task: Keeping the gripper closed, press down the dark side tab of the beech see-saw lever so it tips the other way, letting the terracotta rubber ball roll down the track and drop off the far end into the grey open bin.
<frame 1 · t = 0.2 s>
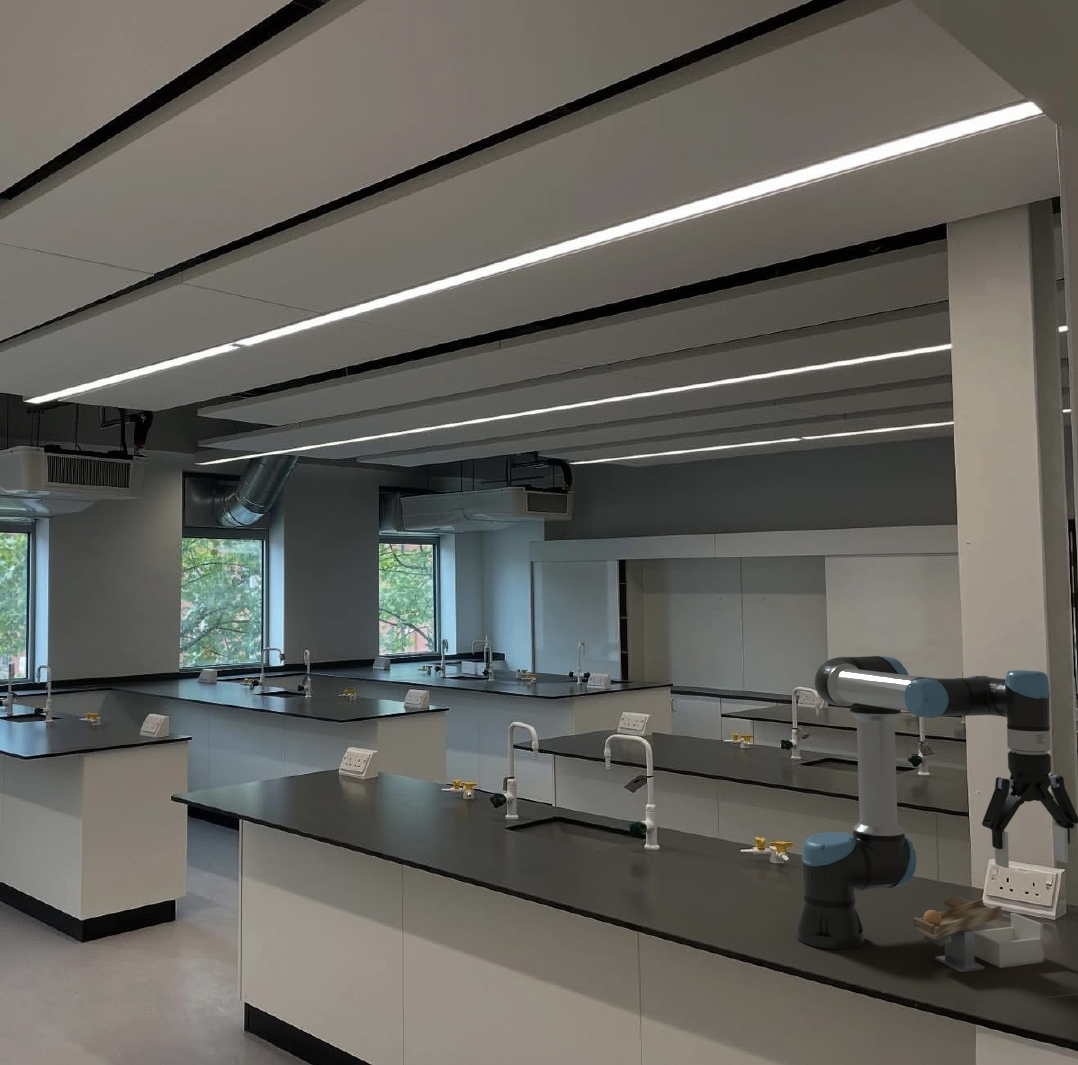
hand: (1031, 863, 196), 28 cm above the counter, fingers open, 13 cm apart
grey open bin: (1007, 958, 223), on the counter
ball: (932, 918, 218), point 10 cm above the counter, tilted 16°, touching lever
fulcrum: (959, 964, 219), on the counter
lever: (947, 917, 223), point 9 cm above the counter, hinge at -10.0°, touching ball
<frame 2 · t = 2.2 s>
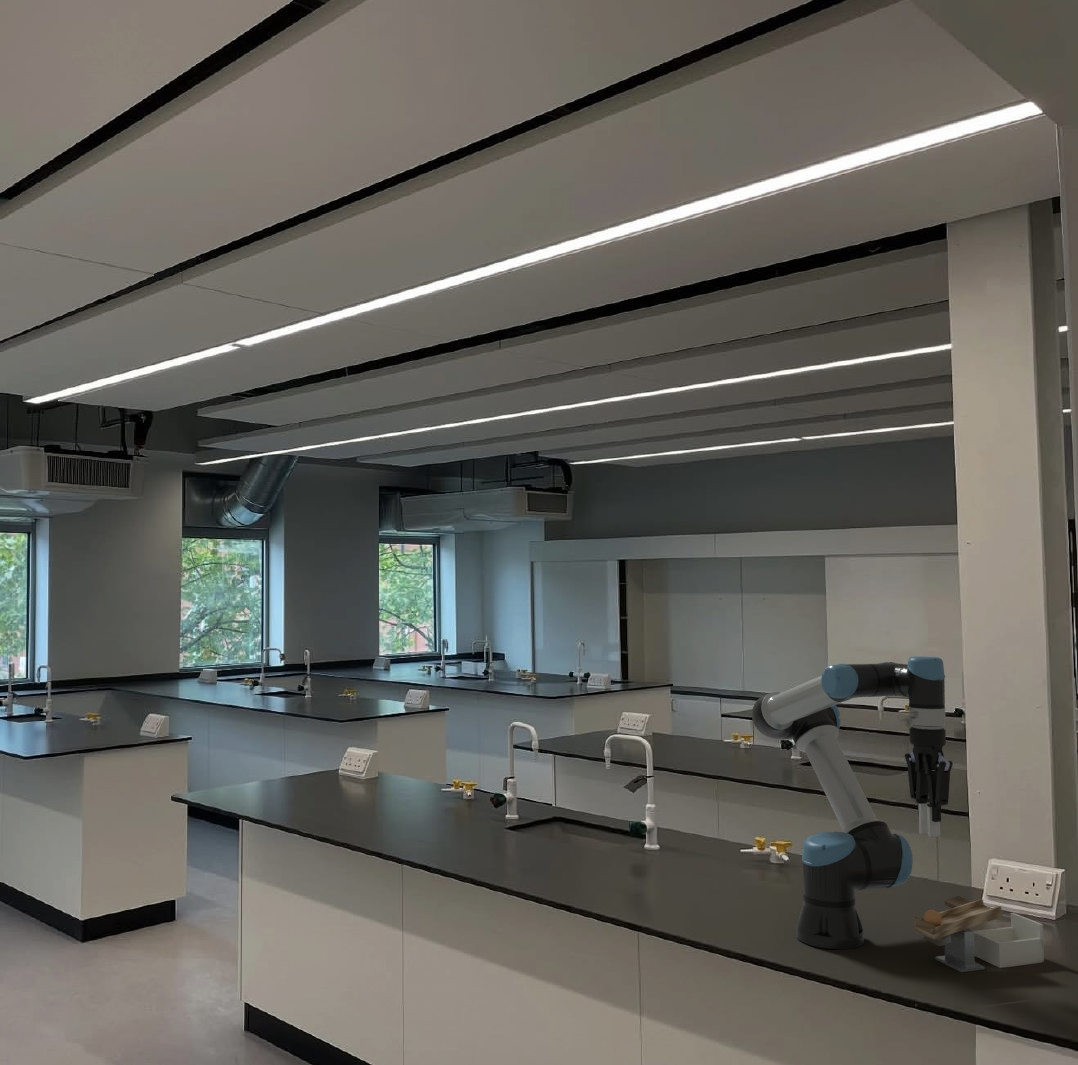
hand: (929, 834, 225), 26 cm above the counter, fingers open, 2 cm apart
nothing on the counter moved.
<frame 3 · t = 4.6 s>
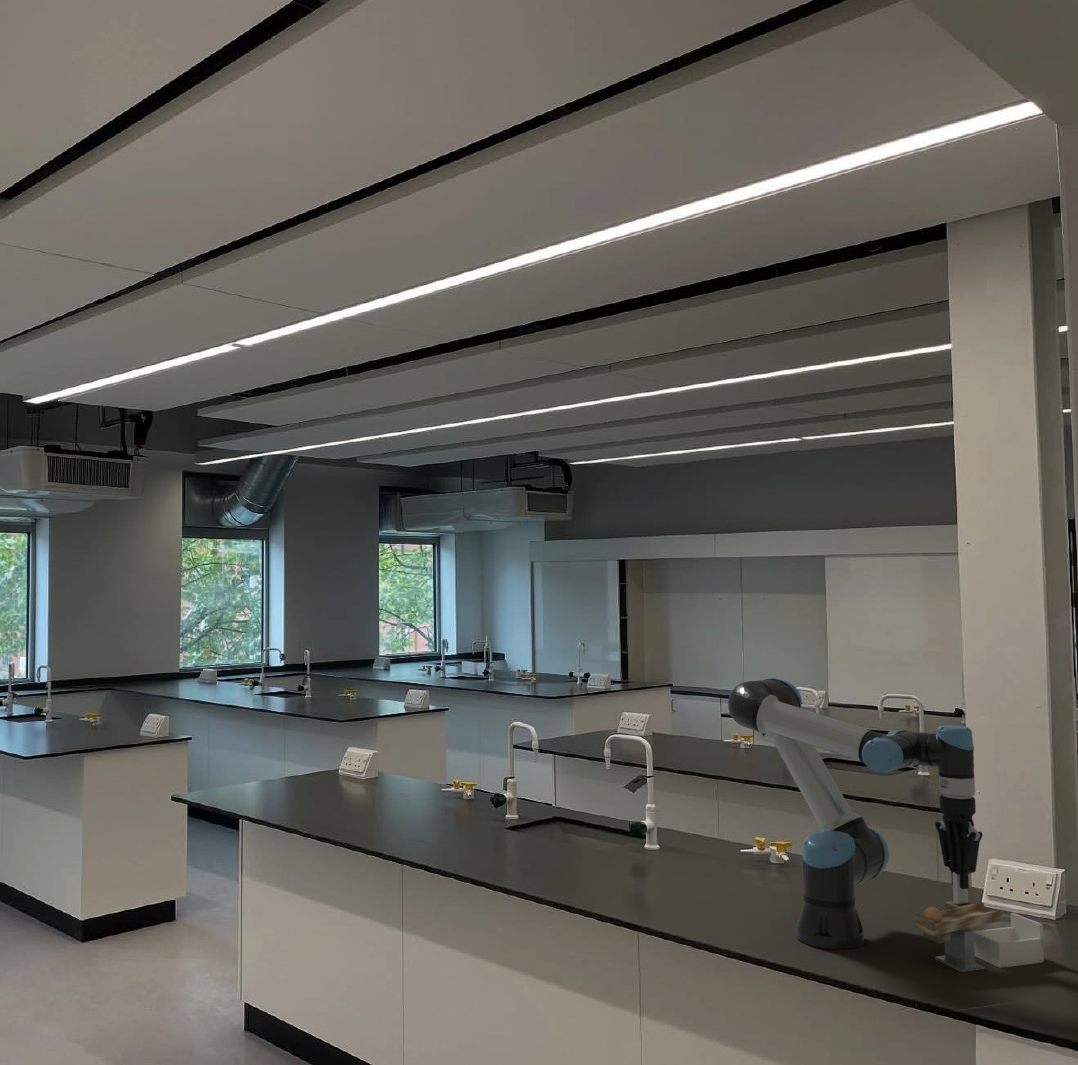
hand: (960, 902, 229), 10 cm above the counter, fingers closed
ball: (932, 916, 218), point 11 cm above the counter, tilted 11°, touching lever
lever: (947, 917, 223), point 9 cm above the counter, hinge at -5.0°, touching ball, gripper
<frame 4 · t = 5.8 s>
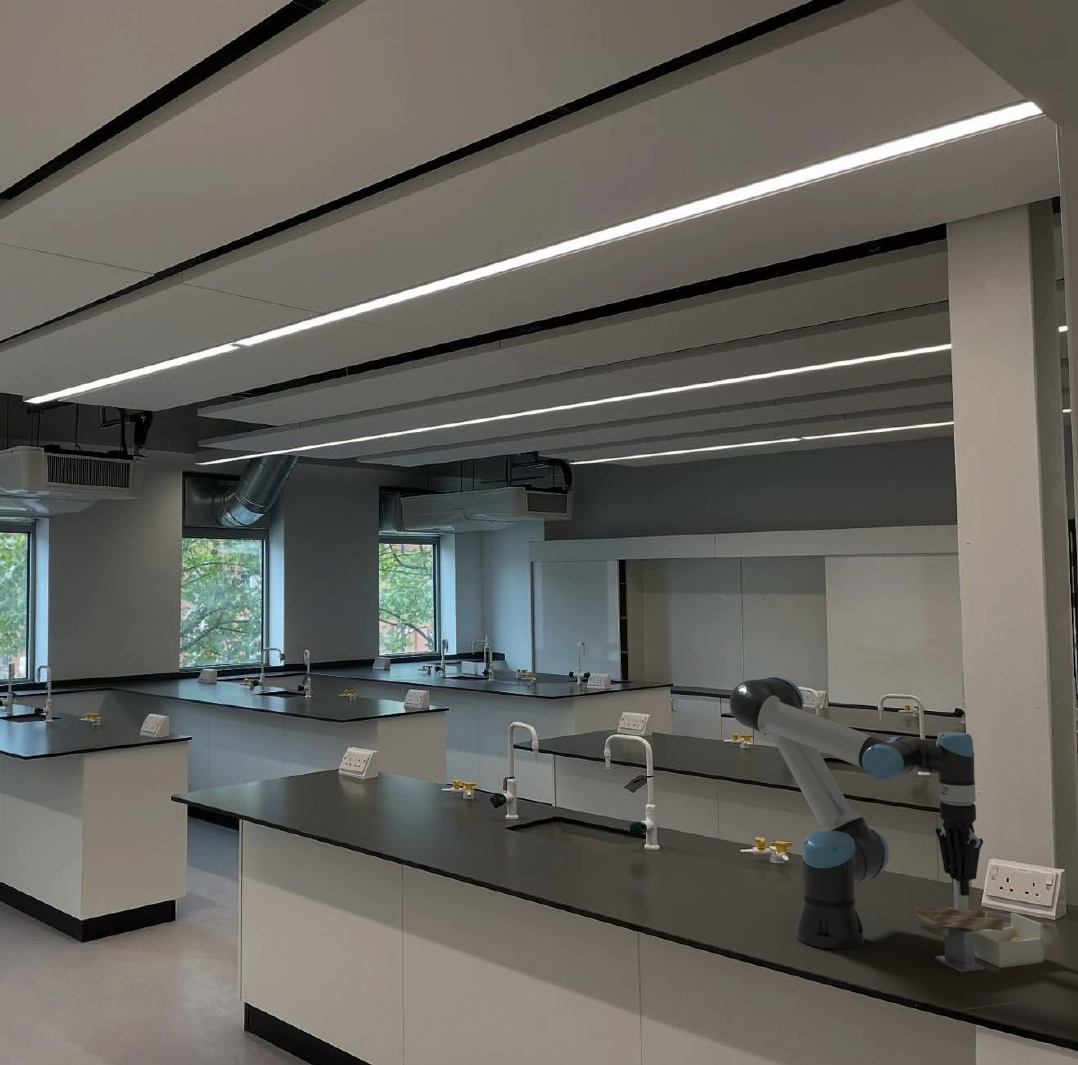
hand: (961, 908, 229), 9 cm above the counter, fingers closed
ball: (1018, 945, 224), point 2 cm above the counter, tilted 53°, touching grey open bin
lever: (947, 917, 223), point 9 cm above the counter, hinge at 8.2°, touching gripper
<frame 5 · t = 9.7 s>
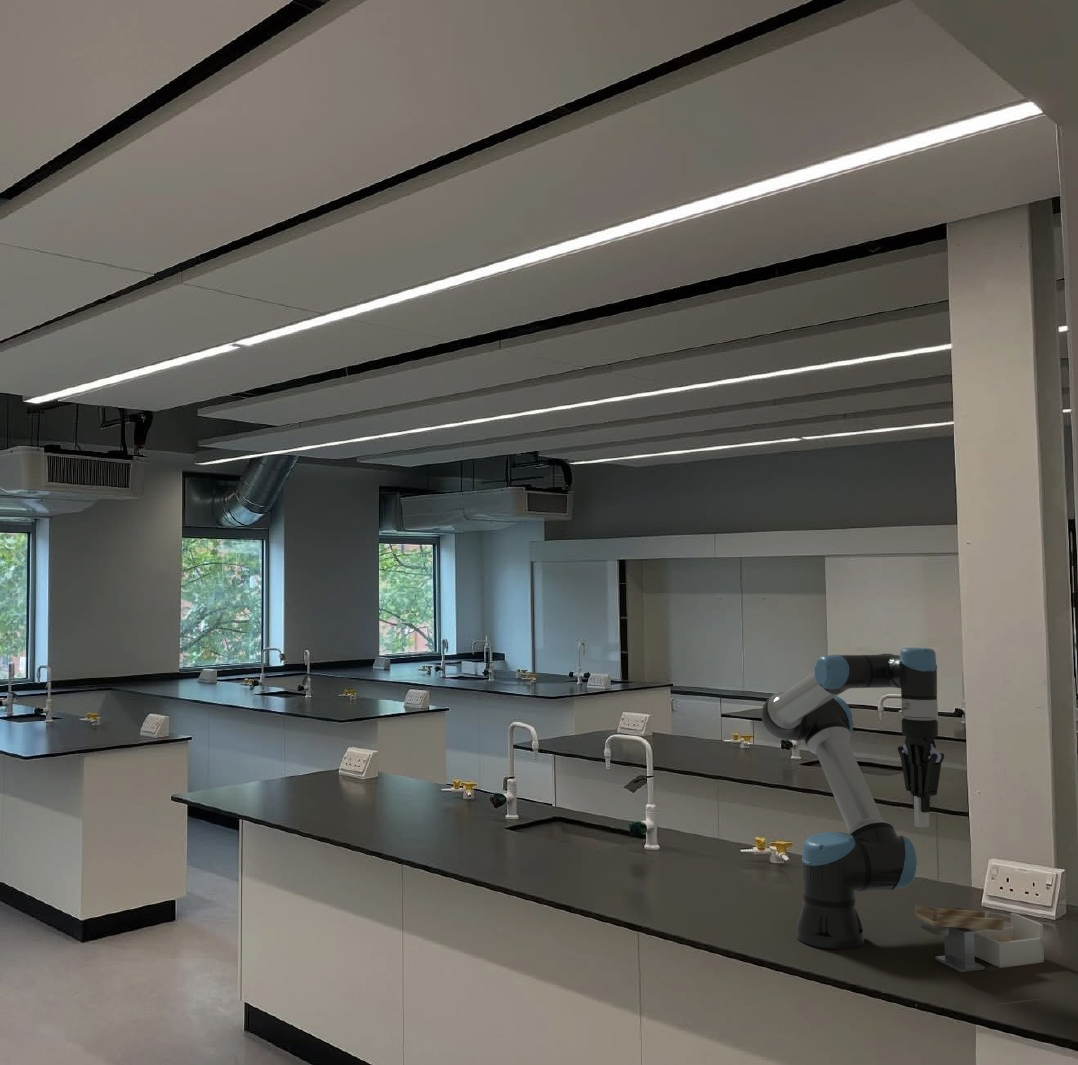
hand: (921, 826, 225), 28 cm above the counter, fingers closed
ball: (1009, 946, 223), point 2 cm above the counter, tilted 28°, touching grey open bin
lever: (947, 917, 223), point 9 cm above the counter, hinge at 8.2°
at the end: ball inside the target area on the grey open bin (0.4 cm from its centre), point 2.4 cm above the grey open bin's base; ball point 2.4 cm above the counter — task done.
